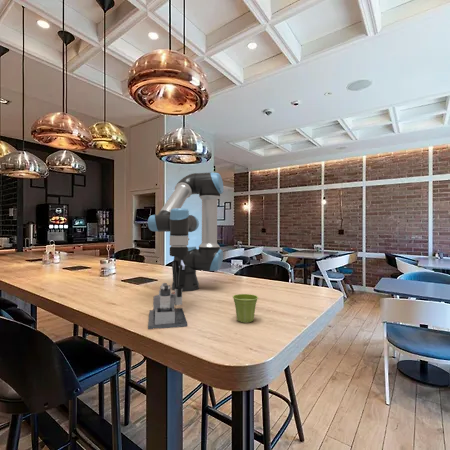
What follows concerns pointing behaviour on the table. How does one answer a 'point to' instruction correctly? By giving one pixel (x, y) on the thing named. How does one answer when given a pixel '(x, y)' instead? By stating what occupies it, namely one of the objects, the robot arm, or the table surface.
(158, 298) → the grey machine part
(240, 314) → the plant pot
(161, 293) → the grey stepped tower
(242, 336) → the table surface
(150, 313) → the base
